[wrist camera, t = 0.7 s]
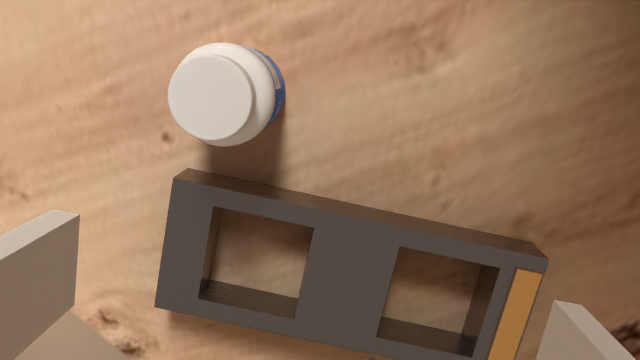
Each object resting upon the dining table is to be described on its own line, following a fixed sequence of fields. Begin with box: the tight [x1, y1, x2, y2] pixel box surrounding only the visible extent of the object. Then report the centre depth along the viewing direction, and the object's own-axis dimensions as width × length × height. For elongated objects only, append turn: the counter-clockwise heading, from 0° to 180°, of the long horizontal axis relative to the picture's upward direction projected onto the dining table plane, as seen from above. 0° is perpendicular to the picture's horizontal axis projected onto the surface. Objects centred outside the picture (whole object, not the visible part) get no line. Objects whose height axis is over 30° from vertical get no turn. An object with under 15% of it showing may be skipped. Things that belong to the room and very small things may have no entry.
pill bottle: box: [168, 43, 285, 147], centre depth 28 cm, size 6×5×10 cm
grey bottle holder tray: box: [154, 168, 549, 360], centre depth 33 cm, size 9×24×3 cm, turn 78°
